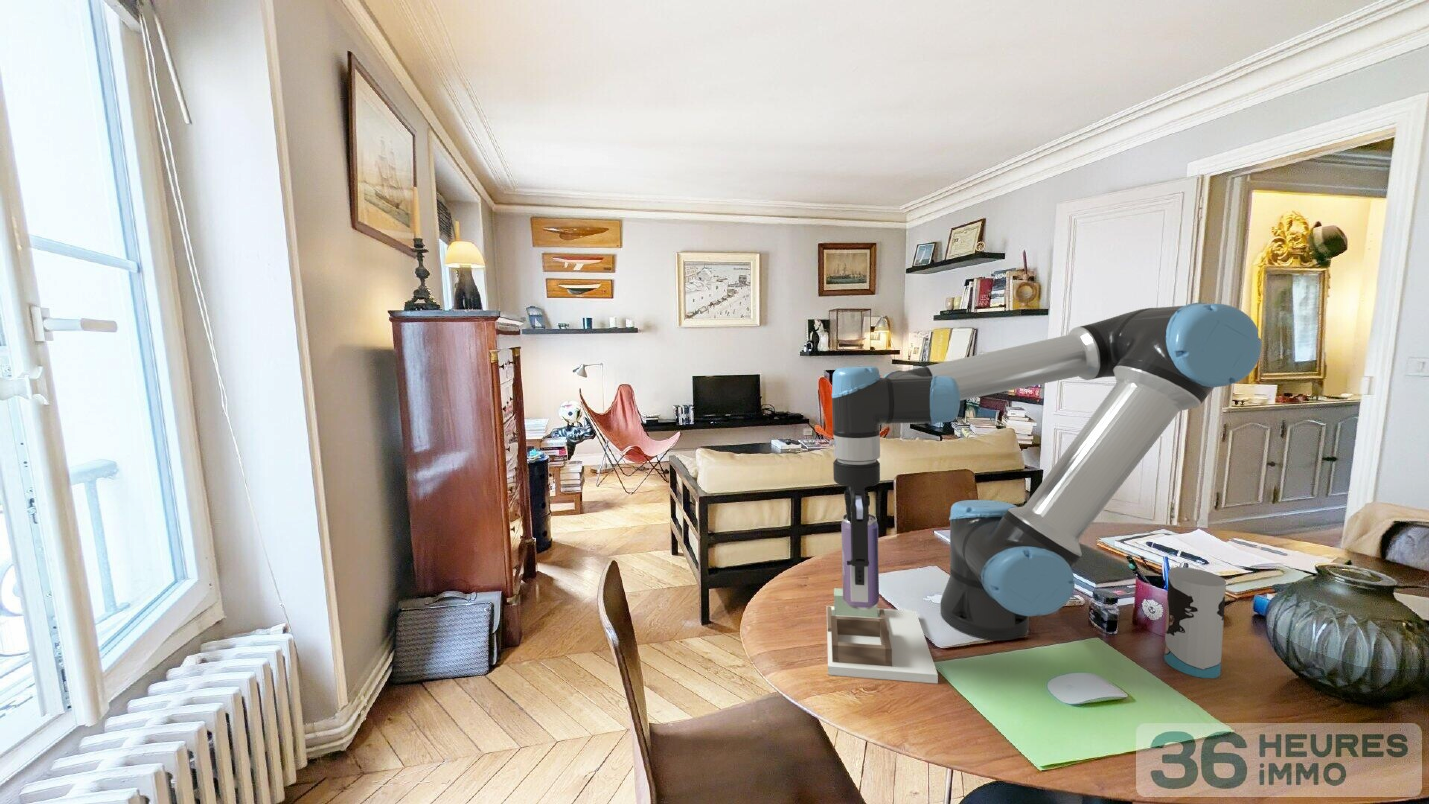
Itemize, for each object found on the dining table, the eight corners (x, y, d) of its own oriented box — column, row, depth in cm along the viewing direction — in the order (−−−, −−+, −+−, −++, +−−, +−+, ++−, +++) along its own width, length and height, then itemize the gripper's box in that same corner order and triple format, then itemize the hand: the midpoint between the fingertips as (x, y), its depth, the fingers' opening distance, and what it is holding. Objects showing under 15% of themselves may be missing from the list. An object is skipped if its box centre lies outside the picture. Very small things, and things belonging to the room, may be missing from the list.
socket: (885, 634, 94) (884, 618, 94) (892, 666, 85) (891, 649, 85) (831, 631, 96) (830, 615, 96) (832, 662, 87) (832, 645, 87)
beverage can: (880, 612, 86) (879, 524, 85) (843, 609, 88) (841, 523, 86) (877, 594, 92) (876, 512, 90) (842, 592, 93) (840, 511, 92)
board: (915, 617, 102) (915, 607, 102) (937, 683, 83) (937, 670, 82) (826, 612, 106) (826, 602, 105) (828, 674, 86) (827, 662, 86)
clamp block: (875, 609, 103) (875, 590, 103) (877, 617, 100) (877, 597, 100) (834, 607, 105) (833, 588, 104) (834, 615, 102) (834, 595, 101)
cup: (1215, 660, 85) (1221, 572, 83) (1224, 683, 80) (1230, 590, 78) (1161, 648, 89) (1165, 564, 87) (1166, 669, 83) (1171, 580, 82)
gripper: (832, 448, 97) (834, 567, 99) (834, 473, 79) (837, 618, 81) (874, 447, 95) (875, 569, 98) (886, 473, 77) (887, 621, 80)
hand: (858, 591), depth 90 cm, fingers closed on beverage can, 6 cm apart
